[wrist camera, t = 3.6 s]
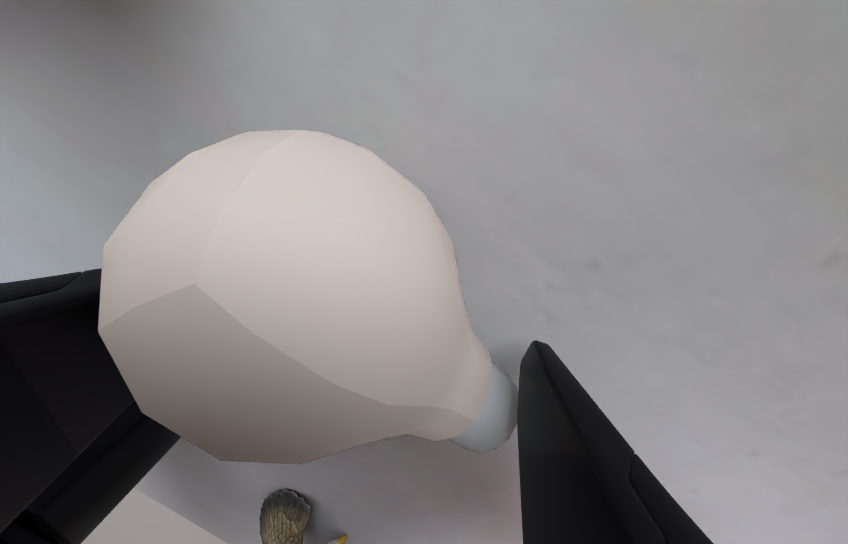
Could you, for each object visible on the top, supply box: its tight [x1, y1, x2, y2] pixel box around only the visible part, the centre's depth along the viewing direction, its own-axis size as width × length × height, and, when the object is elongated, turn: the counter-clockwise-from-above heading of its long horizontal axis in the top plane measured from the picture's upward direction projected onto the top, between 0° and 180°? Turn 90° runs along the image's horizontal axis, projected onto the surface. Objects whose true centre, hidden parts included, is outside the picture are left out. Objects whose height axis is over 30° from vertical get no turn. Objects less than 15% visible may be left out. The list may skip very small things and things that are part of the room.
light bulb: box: [98, 130, 518, 464], centre depth 8 cm, size 7×7×11 cm
